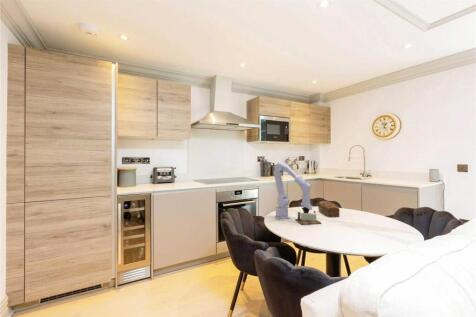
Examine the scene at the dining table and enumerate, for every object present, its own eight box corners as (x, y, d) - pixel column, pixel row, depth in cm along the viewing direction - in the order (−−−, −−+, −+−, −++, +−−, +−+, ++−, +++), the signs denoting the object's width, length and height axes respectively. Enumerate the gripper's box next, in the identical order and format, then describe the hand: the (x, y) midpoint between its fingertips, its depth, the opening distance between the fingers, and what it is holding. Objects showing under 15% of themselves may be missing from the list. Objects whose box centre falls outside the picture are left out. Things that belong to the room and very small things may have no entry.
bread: (317, 211, 201) (317, 200, 200) (329, 211, 201) (329, 200, 201) (327, 217, 182) (327, 205, 182) (340, 217, 183) (340, 204, 182)
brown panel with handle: (301, 225, 164) (301, 215, 163) (295, 220, 175) (295, 211, 175) (321, 223, 166) (321, 214, 166) (313, 219, 178) (313, 210, 178)
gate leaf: (300, 219, 171) (300, 213, 171) (300, 219, 172) (300, 212, 172) (316, 220, 168) (316, 214, 168) (316, 220, 170) (316, 213, 170)
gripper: (315, 201, 165) (315, 219, 166) (306, 196, 179) (306, 213, 180) (306, 201, 164) (306, 220, 165) (298, 197, 178) (298, 214, 179)
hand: (306, 216), depth 172 cm, fingers closed, pressing on gate leaf
